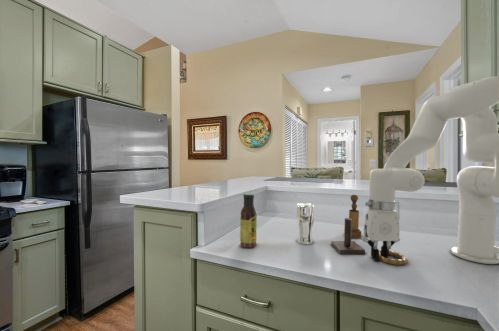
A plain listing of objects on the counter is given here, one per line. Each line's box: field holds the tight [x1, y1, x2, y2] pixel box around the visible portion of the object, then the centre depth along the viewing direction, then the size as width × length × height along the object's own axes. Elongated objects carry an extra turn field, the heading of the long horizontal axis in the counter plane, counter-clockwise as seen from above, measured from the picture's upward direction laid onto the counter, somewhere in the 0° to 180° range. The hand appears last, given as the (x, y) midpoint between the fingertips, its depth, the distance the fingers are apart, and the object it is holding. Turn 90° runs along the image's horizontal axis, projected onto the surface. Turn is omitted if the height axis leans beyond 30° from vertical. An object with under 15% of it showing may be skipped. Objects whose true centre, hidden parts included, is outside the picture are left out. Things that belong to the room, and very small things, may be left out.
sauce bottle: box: [239, 193, 258, 249], centre depth 94 cm, size 6×6×20 cm
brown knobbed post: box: [348, 194, 362, 239], centre depth 107 cm, size 7×6×18 cm
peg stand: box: [330, 217, 366, 255], centre depth 92 cm, size 9×9×12 cm
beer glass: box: [296, 203, 315, 245], centre depth 99 cm, size 7×7×15 cm
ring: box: [379, 249, 408, 266], centre depth 83 cm, size 9×9×2 cm
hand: (379, 259), depth 83 cm, fingers closed
